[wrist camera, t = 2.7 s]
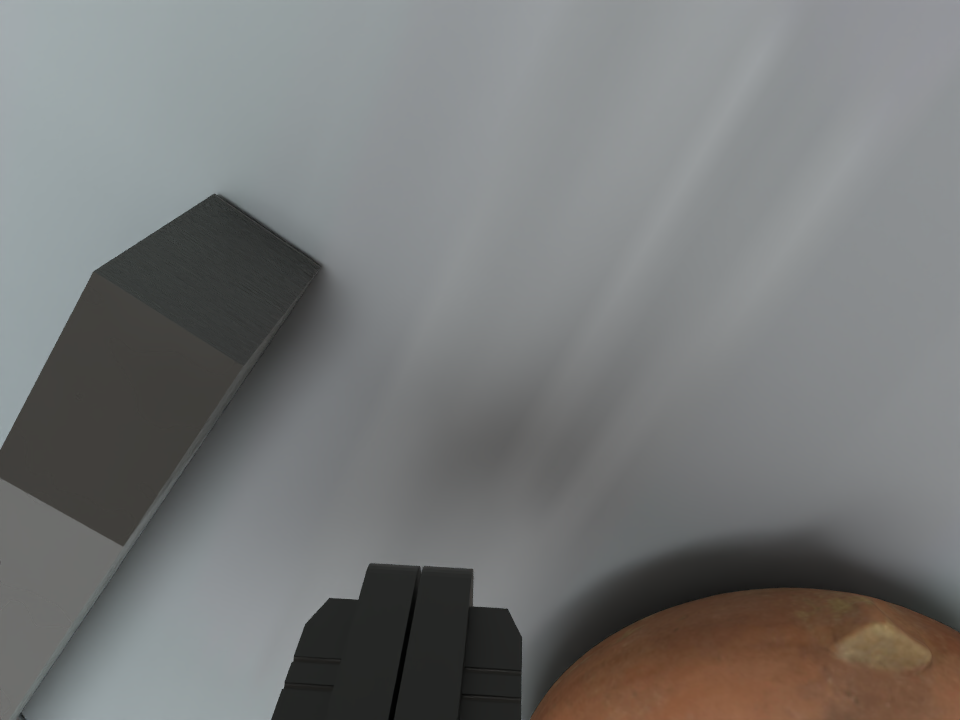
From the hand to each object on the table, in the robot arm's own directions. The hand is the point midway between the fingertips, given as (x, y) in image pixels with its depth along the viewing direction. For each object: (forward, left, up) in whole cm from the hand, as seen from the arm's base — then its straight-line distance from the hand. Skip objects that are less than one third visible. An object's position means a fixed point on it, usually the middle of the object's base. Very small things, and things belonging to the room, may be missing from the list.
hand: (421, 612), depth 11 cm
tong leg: (+7, -12, -8) cm, 16 cm away
